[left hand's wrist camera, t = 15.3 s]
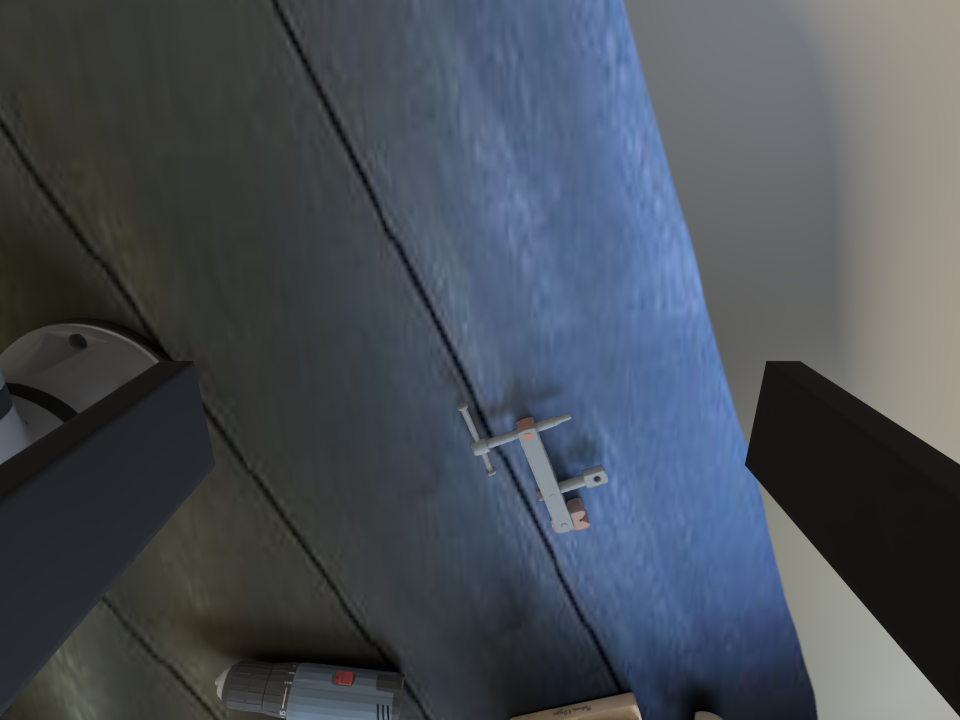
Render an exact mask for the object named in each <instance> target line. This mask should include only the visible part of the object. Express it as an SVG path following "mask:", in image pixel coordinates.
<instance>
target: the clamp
mask: <svg viewBox="0 0 960 720" xmlns="http://www.w3.org/2000/svg"><path fill="white" fill-rule="evenodd" d="M467 407H468V404H467V403H461V404H459V405H458V406H457V410H458V411H461V412H462V414H463V416H464V419H465V421H466V423H467V425H468V428H469V430H470V432H471V434H472V436H473V439H474V441H472V442H471V448H472V451H473V453H474V455H476V456H478V455H481V456H482V458H483V461H484V463H485V465H486V467H487V471H486V474H487V475H489V476H491V475H494V474H495V473H496V472H497V469H496V468H495V467H493V466H492V464H491V462H490V459H489V457H488V455H487V452H490V451H491V450H490V448H492V447H495V446H498V445H501V444H504V443H507V442H510V441H513V440H515V439H518V438H519V440H520V442H521V445H522V447H523V450H524V452H525V455H526V457H527V459H528V462H529V464H530V467H531V469H532V472H533V474H534V476H535V479H536V481H537V484H538V486H539V488H536V493H537V496H538V499H539V501H545V503H546V506H547V508H548V510H549V516H550V521H551V524H552V526H553V529H554V531H555V532H557V533H560V534H561V533H564V532H567V531H570V530H574V529H577V531H579V530H582V529H585V528H588V527H589V525H590V522H589V519H588V515H587V512H586V510H585V509H584V505H583V502H582V499H581V498H574V499H571V500H568V501H567V502H568V503H566V500H565V498H564V495H563V493H564V492H567V491H570V490H573V489H577V488H580V487H583V486H586V485H587V488H588V489H589V488H592V487H595V486H598V485H601V484H605V483H608V477H607V474H606V472H605V469H604V467H603V466H602V465H598V466H595V467H592V468H589V469H586V470H583V471H582V474H583V475H580V476H577V477H574V478H570V479H567V480H564V481H561V482H558V480H557V478H556V475H555V473H554V470H553V467H552V465H551V462H550V460H549V457H548V455H547V452H546V450H545V447H544V445H543V442H542V440H541V437H540V435H539V431H542V430H545V429H548V428H551V427H554V426H556V425H557V424H559V423H560V422H563V421H566V420H569V419H571V417H570V414H569V413H567V414H565V415H562V416H559V417H558V416H557V417H551V418H548V419H545V420H542V421H539V422H537V423H535V422H534V419H533V417H528V418H524V419H521V420H519V421H517V422H516V426H517V429H516V430H513V431H510V432H507V433H505V434H502V435H499V436H496V437H493V438H490V439H487V438H486V437H484V438H481V439H480V437H479V435H478V433H477V430H476V428H475V426H474V424H473V421H472V419H471V417H470V415H469V412H468V410H467Z"/></svg>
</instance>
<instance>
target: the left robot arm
mask: <svg viewBox="0 0 960 720" xmlns="http://www.w3.org/2000/svg"><path fill="white" fill-rule="evenodd" d="M214 466H215V462H214V457H213V452H212V448H211V443H210V438H209V433H208V428H207V424H206V419H205V414H204V409H203V404H202V400H201V395H200V390H199V385H198V380H197V376H196V371H195V366H194V361H170V360H169V358H168V357H167V356H166V355H165V354H164V353H163V352H161V351H160V350H159V349H158V348H157V347H156V346H154V345H153V344H152V343H150V342H149V341H147V340H146V339H144V338H143V337H141V336H139V335H138V334H136V333H134V332H132V331H130V330H128V329H125V328H123V327H120V326H118V325H115V324H111V323H108V322H103V321H99V320H91V319H69V320H63V321H58V322H55V323H52V324H49V325H46V326H44V327H41V328H39V329H36V330H34V331H31V332H29V333H27V334H25V335H24V336H22V337H21V338H19V339H18V340H16V341H15V342H14V343H13V344H11V345H10V346H9V347H8V348H7V349H6V350H5V351H4V352H3V353H2V354H1V355H0V717H1V715H2V714H3V713H4V712H5V711H6V710H7V708H8V707H9V706H10V705H11V704H12V702H13V701H14V700H15V699H16V698H17V697H18V695H19V694H20V693H21V692H22V691H23V690H24V688H25V687H26V686H27V685H28V684H29V683H30V681H31V680H32V679H33V678H34V677H35V676H36V674H37V673H38V672H39V671H40V670H41V668H42V667H43V666H44V665H45V664H46V663H47V661H48V660H49V659H50V658H51V657H52V656H53V654H54V653H55V652H56V651H57V650H58V649H59V647H60V646H61V645H62V644H63V643H64V641H65V640H66V639H67V638H68V637H69V636H70V634H71V633H72V632H73V631H74V630H75V629H76V627H77V626H78V625H79V624H80V623H81V622H82V620H83V619H84V618H85V617H86V616H87V615H88V613H89V612H90V611H91V610H92V609H93V607H94V606H95V605H96V604H97V603H98V602H99V600H100V599H101V598H102V597H103V596H104V595H105V593H106V592H107V591H108V590H109V589H110V588H111V586H112V585H113V584H114V583H115V582H116V581H117V579H118V578H119V577H120V576H121V575H122V573H123V572H124V571H125V570H126V569H127V568H128V566H129V565H130V564H131V563H132V562H133V561H134V559H135V558H136V557H137V556H138V555H139V554H140V552H141V551H142V550H143V549H144V548H145V546H146V545H147V544H148V543H149V542H150V541H151V539H152V538H153V537H154V536H155V535H156V534H157V532H158V531H159V530H160V529H161V528H162V527H163V525H164V524H165V523H166V522H167V521H168V520H169V518H170V517H171V516H172V515H173V514H174V512H175V511H176V510H177V509H178V508H179V507H180V505H181V504H182V503H183V502H184V501H185V500H186V498H187V497H188V496H189V495H190V494H191V493H192V491H193V490H194V489H195V488H196V487H197V486H198V484H199V483H200V482H201V481H202V480H203V478H204V477H205V476H206V475H207V474H208V473H209V471H210V470H211V469H212V468H213V467H214ZM745 466H746V467H747V468H748V469H749V470H750V471H751V473H752V474H753V475H754V476H755V477H756V478H757V480H758V481H759V482H760V483H761V484H762V485H763V487H764V488H765V489H766V490H767V491H768V493H769V494H770V495H771V496H772V497H773V498H774V500H775V501H776V502H777V503H778V504H779V505H780V507H781V508H782V509H783V510H784V511H785V512H786V514H787V515H788V516H789V517H790V518H791V520H792V521H793V522H794V523H795V524H796V525H797V527H798V528H799V529H800V530H801V531H802V532H803V534H804V535H805V536H806V537H807V538H808V539H809V541H810V542H811V543H812V544H813V545H814V547H815V548H816V549H817V550H818V551H819V552H820V554H821V555H822V556H823V557H824V558H825V559H826V561H827V562H828V563H829V564H830V565H831V566H832V568H833V569H834V570H835V571H836V572H837V573H838V575H839V576H840V577H841V578H842V579H843V581H844V582H845V583H846V584H847V585H848V586H849V587H850V589H851V590H852V591H853V592H854V593H855V595H856V596H857V597H858V598H859V599H860V600H861V602H862V603H863V604H864V605H865V606H866V607H867V609H868V610H869V611H870V612H871V613H872V615H873V616H874V617H875V618H876V619H877V620H878V622H879V623H880V624H881V625H882V626H883V627H884V629H885V630H886V631H887V632H888V633H889V634H890V636H891V637H892V638H893V639H894V640H895V641H896V643H897V644H898V645H899V646H900V647H901V649H902V650H903V651H904V652H905V653H906V654H907V656H908V657H909V658H910V659H911V660H912V661H913V663H914V664H915V665H916V666H917V667H918V668H919V670H920V671H921V672H922V673H923V674H924V675H925V677H926V678H927V679H928V680H929V681H930V683H931V684H932V685H933V686H934V687H935V688H936V690H937V691H938V692H939V693H940V694H941V695H942V697H943V698H944V699H945V700H946V701H947V702H948V704H949V705H950V706H951V707H952V708H953V709H954V711H955V712H956V713H957V714H958V715H959V717H960V464H958V463H957V462H955V461H954V460H952V459H950V458H949V457H947V456H946V455H944V454H943V453H941V452H940V451H938V450H936V449H935V448H933V447H932V446H930V445H929V444H927V443H926V442H924V441H923V440H921V439H920V438H918V437H916V436H915V435H913V434H912V433H910V432H909V431H907V430H906V429H904V428H902V427H901V426H899V425H898V424H896V423H895V422H893V421H892V420H890V419H889V418H887V417H885V416H884V415H882V414H881V413H879V412H878V411H876V410H875V409H873V408H872V407H870V406H868V405H867V404H865V403H864V402H862V401H861V400H859V399H858V398H856V397H855V396H853V395H851V394H850V393H848V392H847V391H845V390H844V389H842V388H841V387H839V386H838V385H836V384H834V383H833V382H831V381H830V380H828V379H827V378H825V377H824V376H822V375H821V374H819V373H817V372H816V371H814V370H813V369H811V368H810V367H808V366H807V365H805V364H804V363H802V362H800V361H766V366H765V371H764V376H763V380H762V385H761V390H760V395H759V400H758V404H757V409H756V414H755V419H754V424H753V428H752V433H751V438H750V443H749V448H748V452H747V457H746V462H745Z"/></svg>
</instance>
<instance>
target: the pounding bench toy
mask: <svg viewBox="0 0 960 720" xmlns="http://www.w3.org/2000/svg"><path fill="white" fill-rule="evenodd" d="M510 720H642V718H641V715H640V711H639V708H638V705H637V702H636V699H635V696H634V694H633V693H625V694H620V695H616V696H611V697H606V698H602V699H597V700H592V701H587V702H583V703H578V704H573V705H569V706H564V707H559V708H554V709H549V710H545V711H540V712H535V713H531V714H526V715H521V716H517V717H513V718H511V719H510ZM694 720H723V719H722V718H720V717H719V716H717V715H715V714H713V713H710V712H704V711H699V712H696V713H695V719H694Z"/></svg>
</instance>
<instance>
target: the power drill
mask: <svg viewBox="0 0 960 720" xmlns="http://www.w3.org/2000/svg"><path fill="white" fill-rule="evenodd" d="M404 679H405V674H402V673H396V672H386V671H385V672H384V671H377V670H369V669H360V668H351V667H342V666H334V665H325V664H316V663H294V662H293V663H292V662H289V663H267V662H260V661H240V662H238V663H236V664H235V665H233V666H232V667H230V668H228V669H226V670H225V671H224V672H223V673H222V675H219V677H217V679H216V681H215V685H216V688H217V694H218V696H219V697H220V699H221V700H222V701H223V703H224V704H225V705H226V707H227V708H231V709H238V710H244V711H252V712H261V713H263V714H267V715H271V716H274V717H280V718H286V720H399V714H400V707H401V701H402V693H403V686H404Z"/></svg>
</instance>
